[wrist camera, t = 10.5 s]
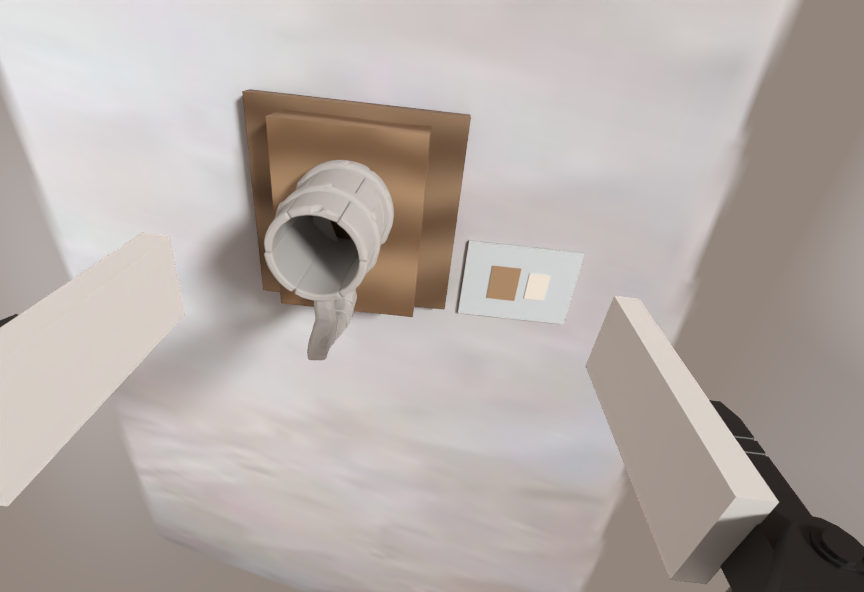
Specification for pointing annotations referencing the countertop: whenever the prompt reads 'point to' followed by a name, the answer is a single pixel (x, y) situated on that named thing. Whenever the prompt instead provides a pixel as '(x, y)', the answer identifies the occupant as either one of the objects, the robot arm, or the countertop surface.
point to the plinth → (391, 160)
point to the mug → (329, 242)
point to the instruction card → (518, 282)
